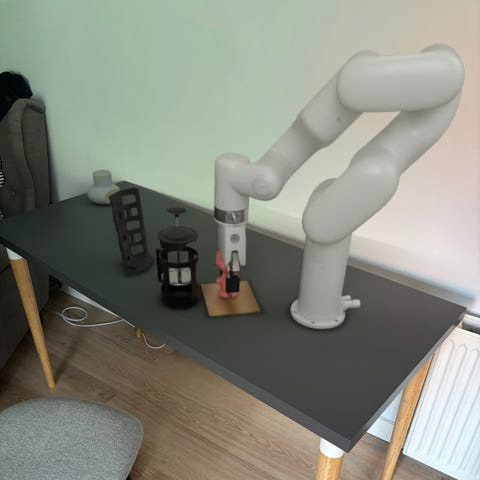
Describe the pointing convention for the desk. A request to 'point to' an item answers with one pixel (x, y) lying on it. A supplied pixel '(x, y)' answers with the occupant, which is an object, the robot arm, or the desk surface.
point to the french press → (177, 264)
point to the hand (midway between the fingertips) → (229, 283)
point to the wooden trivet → (229, 300)
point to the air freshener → (102, 187)
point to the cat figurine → (223, 276)
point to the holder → (124, 233)
